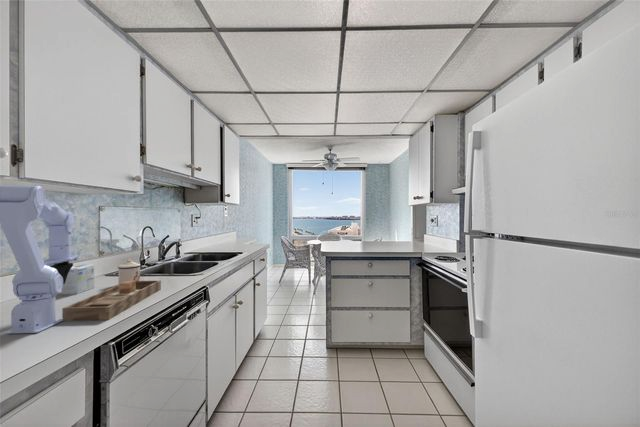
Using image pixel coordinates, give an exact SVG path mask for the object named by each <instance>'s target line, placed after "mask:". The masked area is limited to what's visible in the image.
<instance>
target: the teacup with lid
mask: <svg viewBox="0 0 640 427" xmlns="http://www.w3.org/2000/svg"><path fill="white" fill-rule="evenodd" d="M117 269H118V278H117V279H118V281H117V282H118V284H117V285H119V283H122V282H124V281H141V264H140V263H138V262H135V261H133V260H132V259H127V260H126V262H123V263H122V264H119V265H118V267H117Z"/></svg>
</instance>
